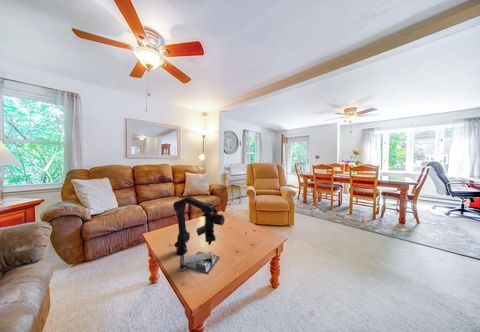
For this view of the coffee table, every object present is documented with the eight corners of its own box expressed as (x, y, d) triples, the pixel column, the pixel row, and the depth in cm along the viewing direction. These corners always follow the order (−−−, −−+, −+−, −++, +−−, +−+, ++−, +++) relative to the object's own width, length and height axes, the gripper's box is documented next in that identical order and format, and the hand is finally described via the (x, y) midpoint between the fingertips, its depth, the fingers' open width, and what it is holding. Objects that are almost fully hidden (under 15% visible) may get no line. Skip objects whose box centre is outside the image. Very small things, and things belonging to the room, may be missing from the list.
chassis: (184, 266, 101) (184, 262, 101) (198, 252, 116) (198, 248, 116) (208, 273, 95) (208, 268, 95) (220, 257, 110) (220, 253, 110)
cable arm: (185, 262, 98) (185, 258, 98) (185, 260, 101) (185, 255, 100) (213, 258, 103) (213, 253, 103) (212, 256, 105) (212, 251, 105)
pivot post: (176, 270, 98) (176, 257, 97) (181, 265, 102) (181, 253, 102) (182, 272, 96) (182, 259, 95) (187, 267, 101) (187, 254, 100)
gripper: (197, 218, 113) (197, 239, 114) (197, 230, 95) (197, 254, 96) (212, 217, 116) (212, 237, 117) (215, 228, 98) (215, 251, 99)
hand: (209, 244), depth 107 cm, fingers closed
